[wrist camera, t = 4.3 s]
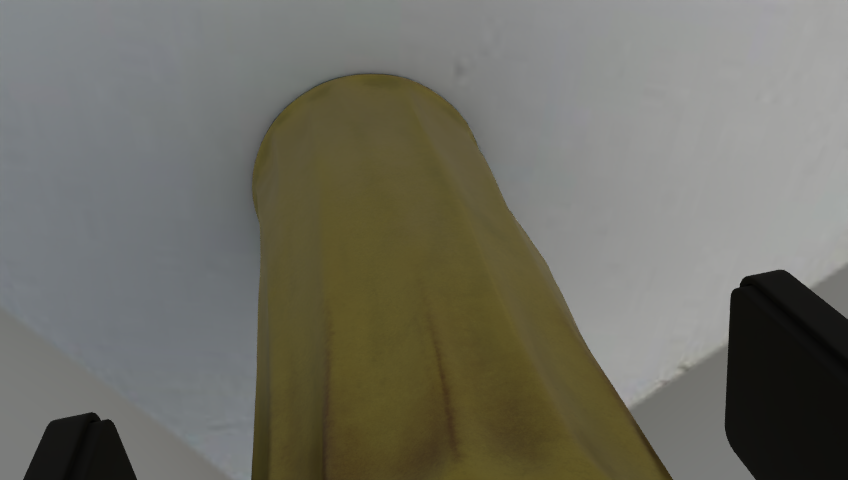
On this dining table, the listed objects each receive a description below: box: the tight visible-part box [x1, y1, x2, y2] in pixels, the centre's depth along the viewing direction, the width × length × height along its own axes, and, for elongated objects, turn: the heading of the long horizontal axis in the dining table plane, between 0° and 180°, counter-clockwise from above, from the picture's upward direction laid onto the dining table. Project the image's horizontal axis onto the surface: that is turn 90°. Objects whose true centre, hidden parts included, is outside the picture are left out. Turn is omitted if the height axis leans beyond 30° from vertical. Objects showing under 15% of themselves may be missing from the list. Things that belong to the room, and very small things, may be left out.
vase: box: [251, 74, 673, 480], centre depth 14 cm, size 6×6×14 cm
